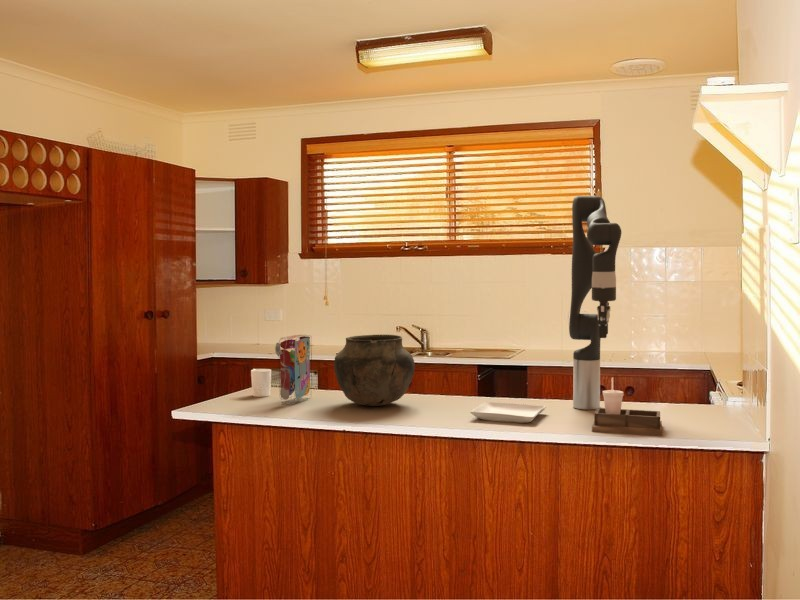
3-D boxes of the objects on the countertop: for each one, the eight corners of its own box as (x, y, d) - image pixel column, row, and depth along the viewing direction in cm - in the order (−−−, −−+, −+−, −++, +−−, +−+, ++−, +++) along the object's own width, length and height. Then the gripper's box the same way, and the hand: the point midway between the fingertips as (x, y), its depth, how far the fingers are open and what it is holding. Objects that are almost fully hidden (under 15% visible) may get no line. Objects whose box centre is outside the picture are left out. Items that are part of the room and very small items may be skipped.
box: (283, 409, 264) (283, 340, 263) (267, 408, 266) (267, 340, 265) (312, 398, 288) (311, 334, 287) (297, 397, 290) (297, 334, 289)
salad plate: (546, 414, 256) (546, 404, 256) (533, 426, 236) (533, 415, 236) (486, 410, 264) (486, 400, 264) (468, 421, 244) (468, 411, 244)
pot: (331, 414, 256) (331, 341, 255) (336, 398, 287) (336, 333, 286) (417, 413, 257) (417, 340, 256) (412, 397, 288) (412, 332, 287)
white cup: (250, 394, 297) (249, 369, 297) (270, 393, 299) (269, 368, 299) (252, 397, 290) (252, 371, 289) (272, 396, 292) (272, 370, 291)
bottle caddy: (595, 421, 242) (595, 406, 241) (661, 425, 235) (661, 409, 235) (591, 431, 227) (592, 415, 227) (661, 435, 221) (662, 419, 221)
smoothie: (619, 420, 236) (619, 376, 236) (626, 424, 230) (627, 379, 229) (599, 420, 236) (599, 376, 235) (606, 425, 229) (606, 379, 229)
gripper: (593, 284, 248) (593, 333, 249) (590, 287, 234) (590, 338, 236) (616, 284, 246) (616, 333, 247) (615, 287, 232) (614, 339, 233)
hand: (603, 336), depth 241 cm, fingers open, 8 cm apart
